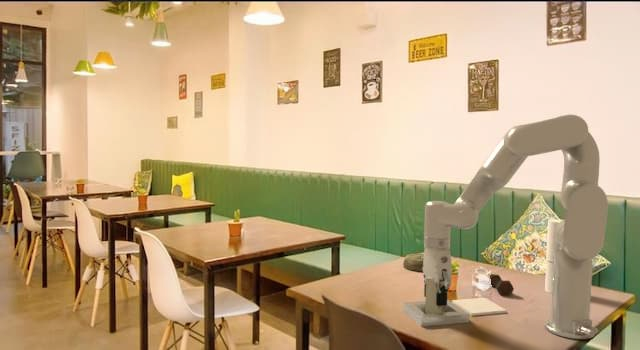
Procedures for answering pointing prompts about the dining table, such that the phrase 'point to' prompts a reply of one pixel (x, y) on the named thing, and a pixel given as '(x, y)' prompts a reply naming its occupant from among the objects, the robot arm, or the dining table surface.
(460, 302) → the tile
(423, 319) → the socket block
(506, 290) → the dark brown dumbbell
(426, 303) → the grey upright block
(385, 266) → the dining table surface
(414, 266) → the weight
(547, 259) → the cylindrical container
